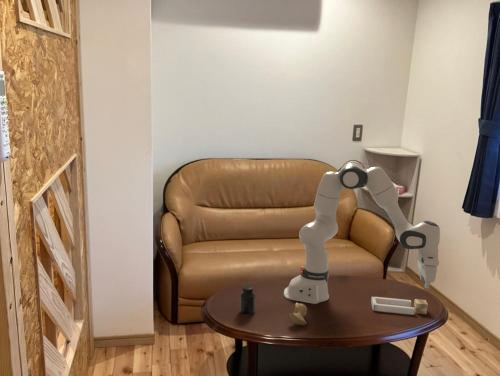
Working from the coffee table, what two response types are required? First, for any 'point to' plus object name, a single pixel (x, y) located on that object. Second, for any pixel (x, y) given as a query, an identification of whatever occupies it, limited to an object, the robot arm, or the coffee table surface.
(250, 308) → the supplement bottle
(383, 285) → the coffee table surface
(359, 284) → the coffee table surface
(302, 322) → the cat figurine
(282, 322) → the coffee table surface
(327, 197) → the robot arm
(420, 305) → the block
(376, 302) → the channel
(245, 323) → the coffee table surface
